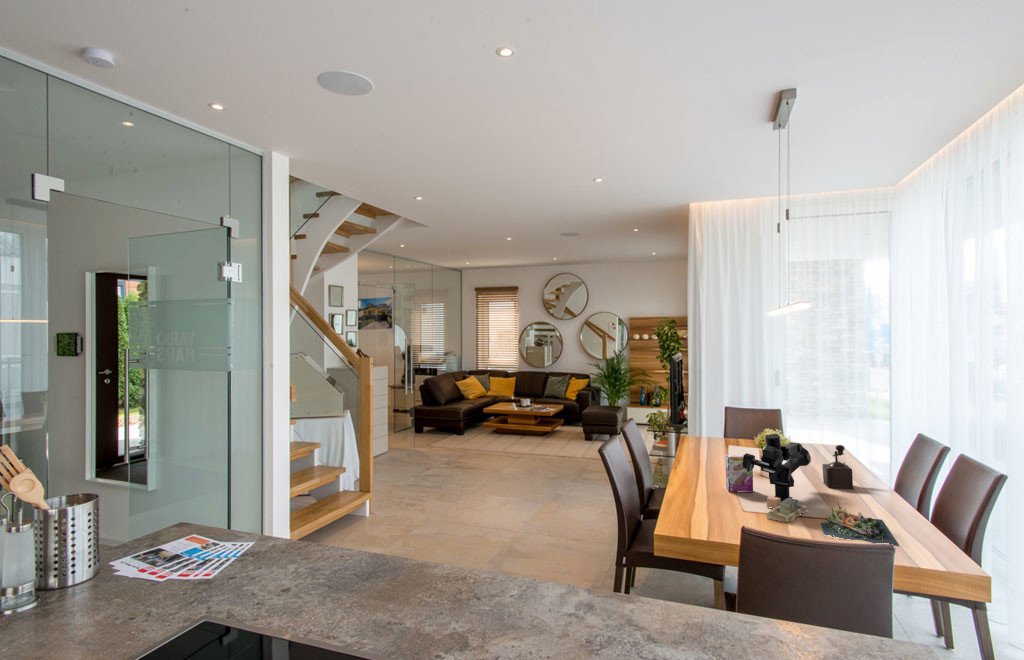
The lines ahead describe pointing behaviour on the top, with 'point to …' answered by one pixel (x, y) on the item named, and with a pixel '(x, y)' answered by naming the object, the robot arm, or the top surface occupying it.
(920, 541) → the top surface
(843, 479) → the manual coffee grinder
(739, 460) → the candy bar box
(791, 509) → the block frame
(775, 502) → the terracotta block
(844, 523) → the plated dish
